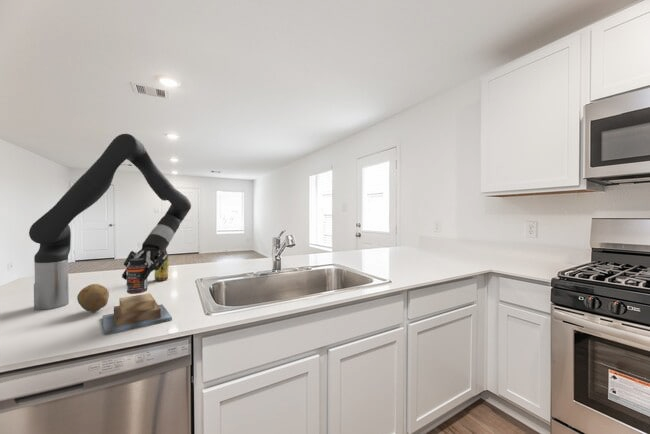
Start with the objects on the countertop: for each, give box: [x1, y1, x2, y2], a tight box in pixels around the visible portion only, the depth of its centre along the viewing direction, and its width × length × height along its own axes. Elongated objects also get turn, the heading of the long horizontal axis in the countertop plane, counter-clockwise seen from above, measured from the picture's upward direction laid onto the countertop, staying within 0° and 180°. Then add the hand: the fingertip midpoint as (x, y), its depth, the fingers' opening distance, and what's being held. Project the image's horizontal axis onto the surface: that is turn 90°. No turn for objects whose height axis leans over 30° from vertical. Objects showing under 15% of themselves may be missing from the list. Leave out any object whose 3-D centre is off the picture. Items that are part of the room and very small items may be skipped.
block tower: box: [102, 292, 173, 336], centre depth 95 cm, size 18×16×7 cm
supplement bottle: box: [126, 258, 148, 295], centre depth 95 cm, size 6×6×11 cm
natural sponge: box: [76, 283, 110, 313], centre depth 102 cm, size 9×9×10 cm
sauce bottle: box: [154, 249, 170, 282], centre depth 146 cm, size 7×6×20 cm
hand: (133, 278), depth 93 cm, fingers closed on supplement bottle, 6 cm apart
